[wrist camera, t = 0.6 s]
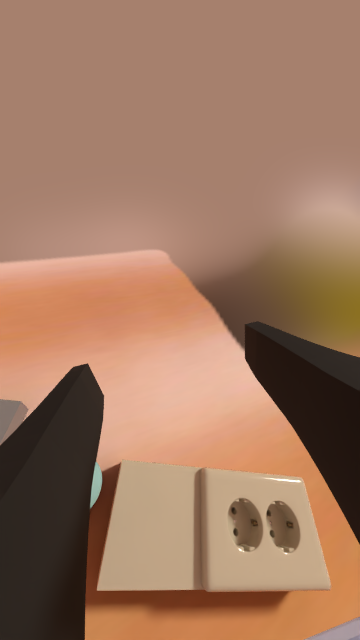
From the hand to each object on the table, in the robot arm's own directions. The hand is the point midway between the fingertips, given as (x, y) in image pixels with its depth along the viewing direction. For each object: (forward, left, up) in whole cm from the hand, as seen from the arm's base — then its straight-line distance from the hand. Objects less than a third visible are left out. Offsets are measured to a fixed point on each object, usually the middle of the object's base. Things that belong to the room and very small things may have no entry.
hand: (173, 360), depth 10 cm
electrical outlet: (-6, -8, -18) cm, 20 cm away
